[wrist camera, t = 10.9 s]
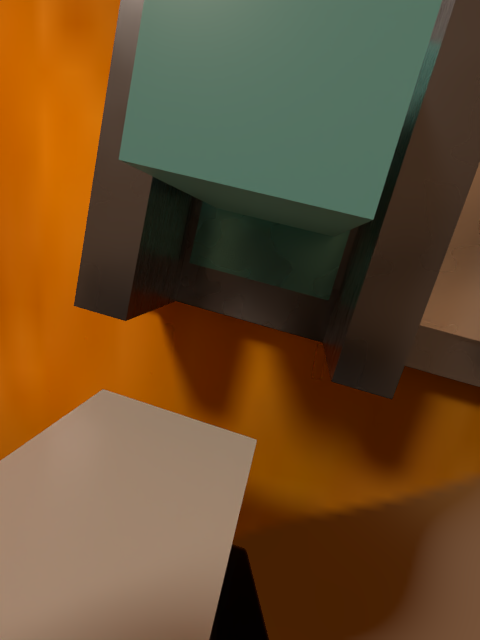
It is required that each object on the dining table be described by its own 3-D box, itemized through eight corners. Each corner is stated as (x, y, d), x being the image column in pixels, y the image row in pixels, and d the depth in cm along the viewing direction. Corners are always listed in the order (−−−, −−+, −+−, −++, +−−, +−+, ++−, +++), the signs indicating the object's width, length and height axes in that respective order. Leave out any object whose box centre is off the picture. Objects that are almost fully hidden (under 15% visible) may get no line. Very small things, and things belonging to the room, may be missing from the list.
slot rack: (770, 68, 11) (1167, -86, 6) (595, 413, 13) (770, 510, 8) (176, -37, 13) (96, -218, 8) (119, 279, 15) (32, 293, 10)
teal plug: (246, 79, 12) (167, -153, 5) (372, 105, 11) (477, -111, 5) (217, 208, 13) (118, 159, 6) (333, 236, 12) (373, 219, 5)
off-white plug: (257, 439, 9) (108, 1064, 2) (216, 573, 10) (18, 1318, 3) (103, 388, 9) (-439, 766, 2) (77, 521, 10) (-374, 1067, 3)
